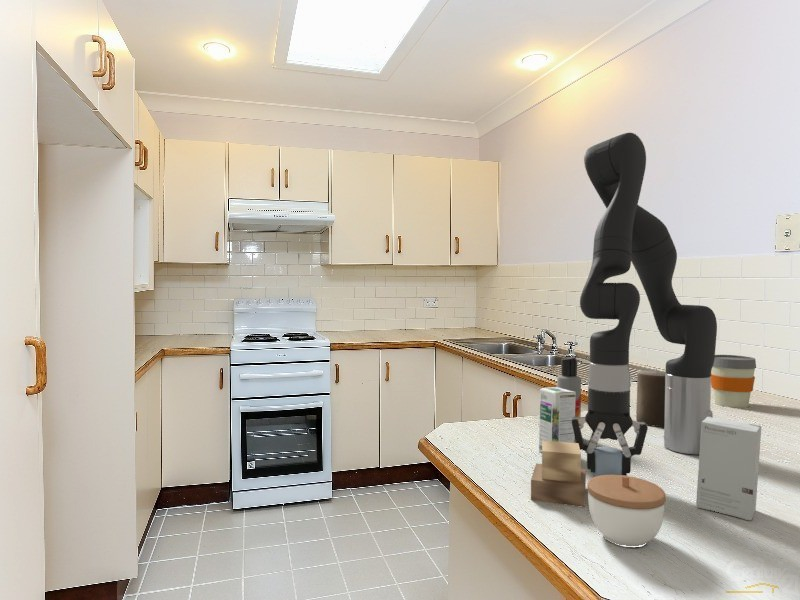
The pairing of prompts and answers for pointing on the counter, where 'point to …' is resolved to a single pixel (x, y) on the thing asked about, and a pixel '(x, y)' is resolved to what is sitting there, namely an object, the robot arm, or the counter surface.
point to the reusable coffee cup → (732, 380)
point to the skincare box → (728, 467)
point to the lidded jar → (626, 508)
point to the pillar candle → (651, 398)
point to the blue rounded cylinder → (608, 461)
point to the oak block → (561, 461)
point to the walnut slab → (557, 489)
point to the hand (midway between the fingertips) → (608, 472)
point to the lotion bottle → (571, 381)
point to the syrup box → (556, 415)
